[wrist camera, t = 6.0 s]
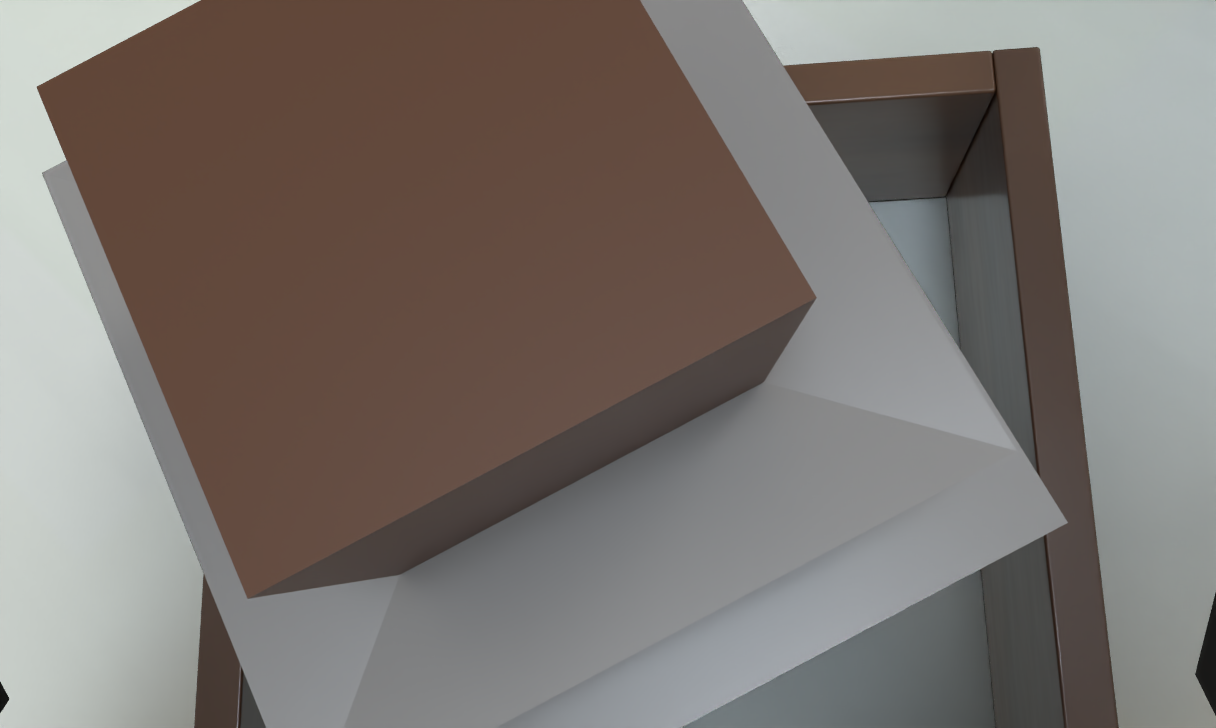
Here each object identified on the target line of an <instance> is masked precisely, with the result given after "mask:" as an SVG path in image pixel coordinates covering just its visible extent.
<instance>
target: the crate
mask: <svg viewBox="0 0 1216 728" xmlns="http://www.w3.org/2000/svg"><path fill="white" fill-rule="evenodd" d="M784 68H785V70H786V71H787V73H788V74H789V76H790V78H791V79H792V81H793V83H794V84H795V86H796V87H797V89H798V91H799V92H800V94H801V95H802V97H803V99H804V100H805V102H806V103H807V105H808V107H809V108H810V110H811V111H812V113H813V115H814V116H815V118H816V119H817V121H818V123H819V124H820V126H821V127H822V129H823V131H824V132H825V134H826V135H827V137H828V139H829V140H830V142H831V143H832V145H833V147H834V148H835V150H836V151H837V153H838V155H839V156H840V158H841V160H842V161H843V163H844V164H845V166H846V168H847V169H848V171H849V172H850V174H851V176H852V177H853V179H854V180H855V182H856V184H857V185H858V187H859V188H860V190H861V192H862V193H863V195H864V196H865V198H866V200H867V201H881V200H898V199H915V198H932V197H944V196H946V195H947V206H948V217H949V227H950V238H951V249H952V260H953V270H954V281H955V292H956V303H957V314H958V324H959V335H960V346H961V352H962V354H963V355H964V357H965V358H966V360H967V362H968V363H969V365H970V366H971V368H972V370H973V371H974V373H975V374H976V376H977V378H978V379H979V381H980V382H981V384H982V386H983V387H984V389H985V390H986V392H987V394H988V395H989V397H990V398H991V400H992V402H993V403H994V405H995V407H996V408H997V410H998V411H999V413H1000V415H1001V416H1002V418H1003V419H1004V421H1005V423H1006V424H1007V426H1008V427H1009V429H1010V431H1011V432H1012V434H1013V435H1014V437H1015V439H1016V440H1017V442H1018V443H1019V445H1020V447H1021V448H1022V450H1023V451H1024V453H1025V455H1026V456H1027V458H1028V459H1029V461H1030V463H1031V464H1032V466H1033V467H1034V469H1035V471H1036V472H1037V474H1038V475H1039V477H1040V479H1041V480H1042V482H1043V483H1044V485H1045V487H1046V488H1047V490H1048V492H1049V493H1050V495H1051V496H1052V498H1053V500H1054V501H1055V503H1056V504H1057V506H1058V508H1059V509H1060V511H1061V512H1062V514H1063V516H1064V517H1065V519H1066V520H1067V522H1068V523H1066V524H1065V525H1063V526H1061V527H1059V528H1057V529H1055V530H1053V531H1051V532H1050V533H1048V534H1046V535H1044V536H1042V537H1040V538H1038V539H1036V540H1034V541H1033V542H1031V543H1029V544H1027V545H1025V546H1023V547H1021V548H1019V549H1017V550H1016V551H1014V552H1012V553H1010V554H1008V555H1006V556H1004V557H1002V558H1001V559H999V560H997V561H995V562H993V563H991V564H989V565H987V566H985V567H984V568H982V569H981V572H982V583H983V594H984V605H985V615H986V626H987V637H988V648H989V658H990V669H991V680H992V691H993V702H994V712H995V723H996V728H1119V726H1118V717H1117V709H1116V700H1115V692H1114V683H1113V674H1112V666H1111V657H1110V649H1109V640H1108V631H1107V623H1106V614H1105V606H1104V597H1103V588H1102V580H1101V571H1100V563H1099V554H1098V545H1097V537H1096V528H1095V520H1094V511H1093V502H1092V494H1091V485H1090V477H1089V468H1088V459H1087V451H1086V442H1085V434H1084V425H1083V416H1082V408H1081V399H1080V391H1079V382H1078V373H1077V365H1076V356H1075V348H1074V339H1073V330H1072V322H1071V313H1070V305H1069V296H1068V287H1067V279H1066V270H1065V262H1064V253H1063V244H1062V236H1061V227H1060V219H1059V210H1058V201H1057V193H1056V184H1055V176H1054V167H1053V158H1052V150H1051V141H1050V133H1049V124H1048V115H1047V107H1046V98H1045V89H1044V81H1043V72H1042V64H1041V55H1040V49H1039V48H1038V47H1033V48H1019V49H1005V50H995V51H993V53H991V51H980V52H966V53H952V54H938V55H925V56H911V57H897V58H883V59H869V60H855V61H841V62H827V63H813V64H800V65H786V66H784ZM194 728H266V726H265V724H264V721H263V719H262V716H261V714H260V711H259V709H258V706H257V704H256V701H255V699H254V696H253V694H252V691H251V689H250V687H249V684H248V682H247V679H246V677H245V674H244V672H243V669H242V667H241V664H240V662H239V659H238V657H237V654H236V652H235V649H234V647H233V644H232V642H231V640H230V637H229V635H228V632H227V630H226V627H225V625H224V622H223V620H222V617H221V615H220V612H219V610H218V607H217V605H216V602H215V600H214V597H213V595H212V592H211V590H210V588H209V585H208V583H207V580H206V578H205V575H204V576H203V593H202V610H201V626H200V643H199V659H198V676H197V692H196V709H195V726H194Z"/></svg>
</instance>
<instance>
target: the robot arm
mask: <svg viewBox="0 0 1216 728" xmlns="http://www.w3.org/2000/svg"><path fill="white" fill-rule="evenodd" d="M1195 675H1196V677H1197V679H1198V681H1199V683H1200V685H1201V687H1202V689H1203V691H1204V693H1205V695H1206V697H1207V699H1208V701H1209V703H1210V705H1211V707H1212V709H1213V711H1214V713H1215V715H1216V593H1215V597H1214V601H1213V605H1212V609H1211V613H1210V617H1209V621H1208V625H1207V629H1206V633H1205V637H1204V641H1203V645H1202V649H1201V653H1200V657H1199V661H1198V665H1197V669H1196V673H1195ZM8 701H9V697H8V695H7V693H6V692H5V690H4V688H3V686H2V684H1V682H0V713H1V711H2V710H3V708H4V707H5V705H6V704H7V702H8Z"/></svg>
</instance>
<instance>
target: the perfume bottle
mask: <svg viewBox="0 0 1216 728" xmlns="http://www.w3.org/2000/svg"><path fill="white" fill-rule="evenodd" d="M37 89H38V92H39V94H40V97H41V99H42V102H43V104H44V106H45V109H46V111H47V114H48V116H49V119H50V121H51V123H52V126H53V128H54V131H55V133H56V136H57V138H58V140H59V143H60V145H61V148H62V150H63V153H64V155H65V157H66V161H64V162H62V163H60V164H58V165H56V166H54V167H53V168H51V169H49V170H47V171H45V172H43V173H42V174H43V177H44V179H45V182H46V184H47V187H48V189H49V192H50V194H51V197H52V199H53V202H54V204H55V206H56V209H57V211H58V214H59V216H60V219H61V221H62V224H63V226H64V229H65V231H66V234H67V236H68V239H69V241H70V244H71V246H72V249H73V251H74V254H75V256H76V258H77V261H78V263H79V266H80V268H81V271H82V273H83V276H84V278H85V281H86V283H87V286H88V288H89V291H90V293H91V296H92V298H93V301H94V303H95V305H96V308H97V310H98V313H99V315H100V318H101V320H102V323H103V325H104V328H105V330H106V333H107V335H108V338H109V340H110V343H111V345H112V348H113V350H114V352H115V355H116V357H117V360H118V362H119V365H120V367H121V370H122V372H123V375H124V377H125V380H126V382H127V385H128V387H129V390H130V392H131V395H132V397H133V399H134V402H135V404H136V407H137V409H138V412H139V414H140V417H141V419H142V422H143V424H144V427H145V429H146V432H147V434H148V437H149V439H150V442H151V444H152V447H153V449H154V451H155V454H156V456H157V459H158V461H159V464H160V466H161V469H162V471H163V474H164V476H165V479H166V481H167V484H168V486H169V489H170V491H171V494H172V496H173V498H174V501H175V503H176V506H177V508H178V511H179V513H180V516H181V518H182V521H183V523H184V526H185V528H186V531H187V533H188V536H189V538H190V541H191V543H192V545H193V548H194V550H195V553H196V555H197V558H198V560H199V563H200V565H201V568H202V570H203V573H204V575H205V578H206V580H207V583H208V585H209V588H210V590H211V592H212V595H213V597H214V600H215V602H216V605H217V607H218V610H219V612H220V615H221V617H222V620H223V622H224V625H225V627H226V630H227V632H228V635H229V637H230V640H231V642H232V644H233V647H234V649H235V652H236V654H237V657H238V659H239V662H240V664H241V667H242V669H243V672H244V674H245V677H246V679H247V682H248V684H249V687H250V689H251V691H252V694H253V696H254V699H255V701H256V704H257V706H258V709H259V711H260V714H261V716H262V719H263V721H264V724H265V726H266V728H682V727H684V726H686V725H688V724H690V723H691V722H693V721H695V720H697V719H699V718H701V717H703V716H705V715H707V714H708V713H710V712H712V711H714V710H716V709H718V708H720V707H722V706H723V705H725V704H727V703H729V702H731V701H733V700H735V699H737V698H739V697H740V696H742V695H744V694H746V693H748V692H750V691H752V690H754V689H756V688H757V687H759V686H761V685H763V684H765V683H767V682H769V681H771V680H772V679H774V678H776V677H778V676H780V675H782V674H784V673H786V672H788V671H789V670H791V669H793V668H795V667H797V666H799V665H801V664H803V663H805V662H806V661H808V660H810V659H812V658H814V657H816V656H818V655H820V654H821V653H823V652H825V651H827V650H829V649H831V648H833V647H835V646H837V645H838V644H840V643H842V642H844V641H846V640H848V639H850V638H852V637H854V636H855V635H857V634H859V633H861V632H863V631H865V630H867V629H869V628H870V627H872V626H874V625H876V624H878V623H880V622H882V621H884V620H886V619H887V618H889V617H891V616H893V615H895V614H897V613H899V612H901V611H903V610H904V609H906V608H908V607H910V606H912V605H914V604H916V603H918V602H919V601H921V600H923V599H925V598H927V597H929V596H931V595H933V594H935V593H936V592H938V591H940V590H942V589H944V588H946V587H948V586H950V585H952V584H953V583H955V582H957V581H959V580H961V579H963V578H965V577H967V576H968V575H970V574H972V573H974V572H976V571H978V570H980V569H982V568H984V567H985V566H987V565H989V564H991V563H993V562H995V561H997V560H999V559H1001V558H1002V557H1004V556H1006V555H1008V554H1010V553H1012V552H1014V551H1016V550H1017V549H1019V548H1021V547H1023V546H1025V545H1027V544H1029V543H1031V542H1033V541H1034V540H1036V539H1038V538H1040V537H1042V536H1044V535H1046V534H1048V533H1050V532H1051V531H1053V530H1055V529H1057V528H1059V527H1061V526H1063V525H1065V524H1066V523H1068V522H1067V520H1066V519H1065V517H1064V516H1063V514H1062V512H1061V511H1060V509H1059V508H1058V506H1057V504H1056V503H1055V501H1054V500H1053V498H1052V496H1051V495H1050V493H1049V492H1048V490H1047V488H1046V487H1045V485H1044V483H1043V482H1042V480H1041V479H1040V477H1039V475H1038V474H1037V472H1036V471H1035V469H1034V467H1033V466H1032V464H1031V463H1030V461H1029V459H1028V458H1027V456H1026V455H1025V453H1024V451H1023V450H1022V448H1021V447H1020V445H1019V443H1018V442H1017V440H1016V439H1015V437H1014V435H1013V434H1012V432H1011V431H1010V429H1009V427H1008V426H1007V424H1006V423H1005V421H1004V419H1003V418H1002V416H1001V415H1000V413H999V411H998V410H997V408H996V407H995V405H994V403H993V402H992V400H991V398H990V397H989V395H988V394H987V392H986V390H985V389H984V387H983V386H982V384H981V382H980V381H979V379H978V378H977V376H976V374H975V373H974V371H973V370H972V368H971V366H970V365H969V363H968V362H967V360H966V358H965V357H964V355H963V354H962V352H961V350H960V349H959V347H958V346H957V344H956V342H955V341H954V339H953V338H952V336H951V334H950V333H949V331H948V330H947V328H946V326H945V325H944V323H943V322H942V320H941V318H940V317H939V315H938V313H937V312H936V310H935V309H934V307H933V305H932V304H931V302H930V301H929V299H928V297H927V296H926V294H925V293H924V291H923V289H922V288H921V286H920V285H919V283H918V281H917V280H916V278H915V277H914V275H913V273H912V272H911V270H910V269H909V267H908V265H907V264H906V262H905V261H904V259H903V257H902V256H901V254H900V253H899V251H898V249H897V248H896V246H895V245H894V243H893V241H892V240H891V238H890V236H889V235H888V233H887V232H886V230H885V228H884V227H883V225H882V224H881V222H880V220H879V219H878V217H877V216H876V214H875V212H874V211H873V209H872V208H871V206H870V204H869V203H868V201H867V200H866V198H865V196H864V195H863V193H862V192H861V190H860V188H859V187H858V185H857V184H856V182H855V180H854V179H853V177H852V176H851V174H850V172H849V171H848V169H847V168H846V166H845V164H844V163H843V161H842V160H841V158H840V156H839V155H838V153H837V151H836V150H835V148H834V147H833V145H832V143H831V142H830V140H829V139H828V137H827V135H826V134H825V132H824V131H823V129H822V127H821V126H820V124H819V123H818V121H817V119H816V118H815V116H814V115H813V113H812V111H811V110H810V108H809V107H808V105H807V103H806V102H805V100H804V99H803V97H802V95H801V94H800V92H799V91H798V89H797V87H796V86H795V84H794V83H793V81H792V79H791V78H790V76H789V74H788V73H787V71H786V70H785V68H784V66H783V65H782V63H781V62H780V60H779V58H778V57H777V55H776V54H775V52H774V50H773V49H772V47H771V46H770V44H769V42H768V41H767V39H766V38H765V36H764V34H763V33H762V31H761V30H760V28H759V26H758V25H757V23H756V22H755V20H754V18H753V17H752V15H751V14H750V12H749V10H748V9H747V7H746V6H745V4H744V2H743V1H742V0H201V1H199V2H197V3H195V4H193V5H191V6H189V7H187V8H185V9H183V10H182V11H180V12H178V13H176V14H174V15H172V16H170V17H168V18H166V19H165V20H163V21H161V22H159V23H157V24H155V25H153V26H151V27H149V28H147V29H146V30H144V31H142V32H140V33H138V34H136V35H134V36H132V37H130V38H128V39H127V40H125V41H123V42H121V43H119V44H117V45H115V46H113V47H111V48H109V49H108V50H106V51H104V52H102V53H100V54H98V55H96V56H94V57H92V58H90V59H89V60H87V61H85V62H83V63H81V64H79V65H77V66H75V67H73V68H71V69H70V70H68V71H66V72H64V73H62V74H60V75H58V76H56V77H54V78H52V79H51V80H49V81H47V82H45V83H43V84H41V85H39V86H37Z"/></svg>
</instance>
